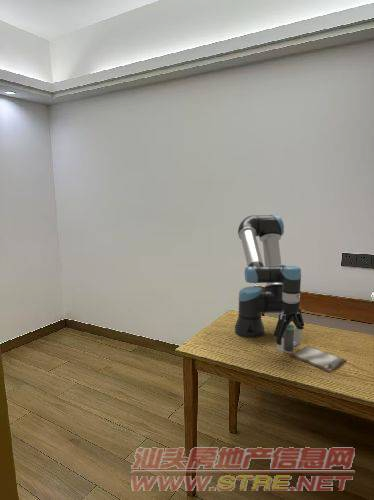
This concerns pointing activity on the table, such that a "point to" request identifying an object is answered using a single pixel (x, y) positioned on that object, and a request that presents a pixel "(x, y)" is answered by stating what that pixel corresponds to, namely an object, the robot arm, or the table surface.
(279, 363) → the table surface
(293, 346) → the word card
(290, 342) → the marker
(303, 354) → the clipboard
